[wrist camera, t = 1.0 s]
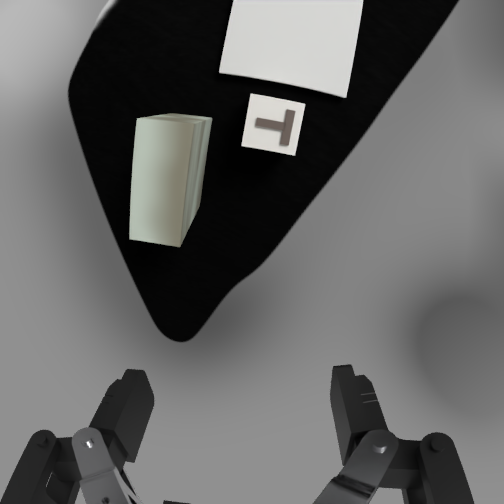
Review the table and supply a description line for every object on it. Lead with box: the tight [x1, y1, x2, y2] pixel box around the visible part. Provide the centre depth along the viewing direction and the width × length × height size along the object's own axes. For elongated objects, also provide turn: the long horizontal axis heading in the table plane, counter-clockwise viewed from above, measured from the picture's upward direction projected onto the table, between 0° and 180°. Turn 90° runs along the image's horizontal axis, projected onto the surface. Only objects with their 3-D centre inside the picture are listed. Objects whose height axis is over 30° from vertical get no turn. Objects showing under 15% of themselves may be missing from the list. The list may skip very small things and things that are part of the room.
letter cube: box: [241, 94, 305, 155], centre depth 27 cm, size 4×4×5 cm
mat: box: [219, 0, 363, 98], centre depth 23 cm, size 12×18×1 cm, turn 170°
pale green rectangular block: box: [130, 113, 212, 247], centre depth 26 cm, size 4×9×10 cm, turn 170°
